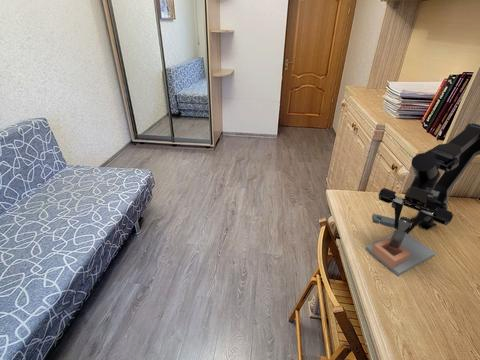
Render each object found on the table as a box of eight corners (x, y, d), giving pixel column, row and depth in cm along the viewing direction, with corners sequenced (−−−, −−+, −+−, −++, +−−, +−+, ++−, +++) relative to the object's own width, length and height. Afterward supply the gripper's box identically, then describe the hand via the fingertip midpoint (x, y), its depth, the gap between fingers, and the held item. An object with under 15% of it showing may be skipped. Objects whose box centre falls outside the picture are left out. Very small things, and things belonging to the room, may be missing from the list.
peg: (393, 240, 83) (404, 215, 78) (401, 246, 81) (414, 221, 76) (386, 243, 82) (398, 218, 77) (395, 249, 80) (407, 224, 74)
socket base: (401, 232, 95) (405, 223, 93) (434, 255, 86) (440, 246, 84) (364, 249, 87) (368, 240, 85) (397, 276, 78) (402, 266, 76)
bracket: (402, 230, 97) (404, 226, 96) (372, 223, 100) (373, 219, 99) (400, 224, 100) (402, 220, 99) (371, 217, 103) (373, 213, 102)
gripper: (390, 164, 77) (367, 211, 75) (468, 188, 67) (443, 243, 65) (389, 177, 86) (368, 219, 85) (457, 200, 76) (435, 248, 74)
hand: (400, 231), depth 77 cm, fingers closed on peg, 3 cm apart
